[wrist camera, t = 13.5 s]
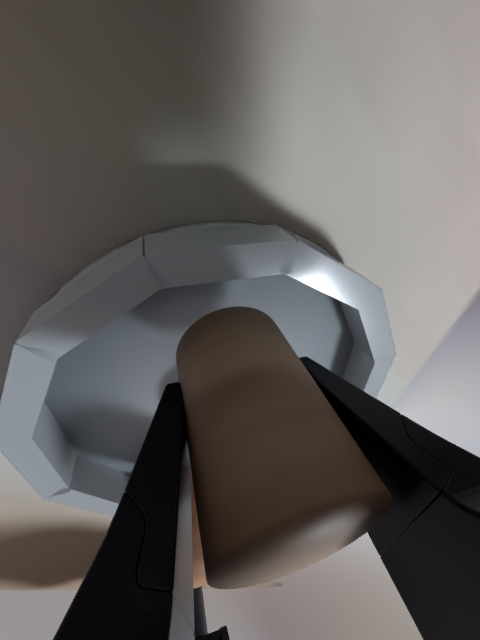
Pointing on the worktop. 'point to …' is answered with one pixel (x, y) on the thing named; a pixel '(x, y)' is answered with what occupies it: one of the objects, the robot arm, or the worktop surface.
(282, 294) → the groove tray
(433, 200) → the worktop surface
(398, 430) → the robot arm
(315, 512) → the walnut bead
